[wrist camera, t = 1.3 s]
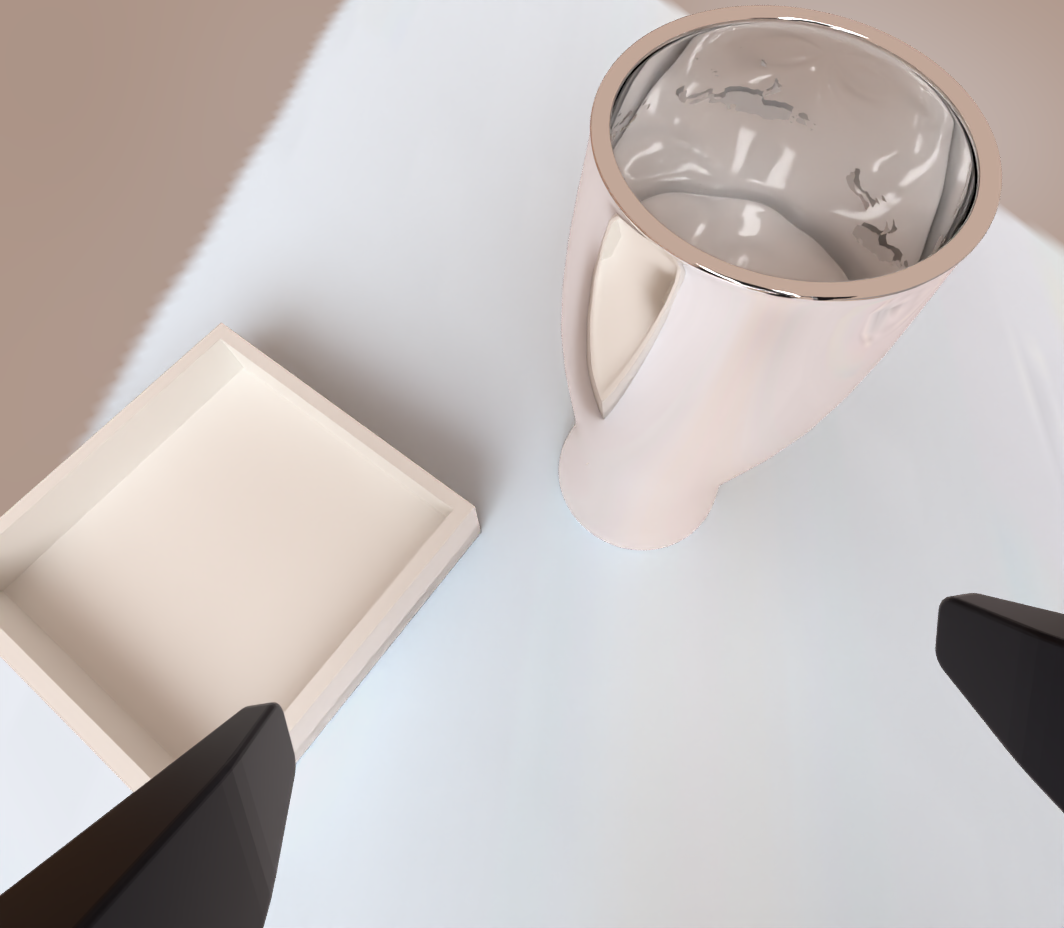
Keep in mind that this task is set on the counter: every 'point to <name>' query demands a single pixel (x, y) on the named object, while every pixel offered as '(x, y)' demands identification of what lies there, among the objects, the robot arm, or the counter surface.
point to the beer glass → (750, 248)
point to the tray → (218, 560)
